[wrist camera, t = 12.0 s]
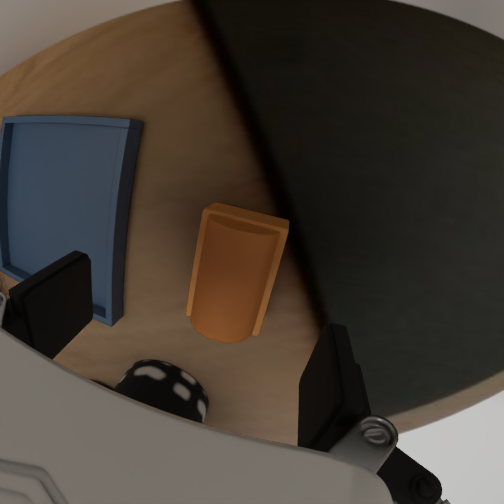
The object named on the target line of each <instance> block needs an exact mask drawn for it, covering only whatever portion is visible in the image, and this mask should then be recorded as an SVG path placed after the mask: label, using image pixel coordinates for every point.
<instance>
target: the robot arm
mask: <svg viewBox="0 0 504 504" xmlns="http://www.w3.org/2000/svg"><path fill="white" fill-rule="evenodd" d="M9 295H10V299H8V300H7V297H6V296H5V294H4V293H2V292H0V504H450V503H449V502H448V500H447V499H446V500H445V501H442V500H441V498H440V497H441V495H442V487H441V483H440V481H439V480H438V478H437V477H436V476H435V475H434V474H432V473H431V472H430V471H428V470H427V469H425V468H424V467H423V466H421V465H420V464H419V463H417V462H416V461H415V460H413V459H412V458H411V457H409V456H408V455H407V454H405V453H404V452H403V451H401V450H400V449H399V448H397V447H396V444H397V442H398V433H397V430H396V428H395V427H394V425H393V424H392V423H391V422H390V421H389V420H387V419H385V418H383V417H381V416H377V415H371V411H370V407H369V402H368V398H367V393H366V389H365V385H364V380H363V376H362V372H361V368H360V365H359V364H358V363H355V360H354V356H353V352H352V348H351V344H350V340H349V336H348V332H347V328H346V326H344V325H339V324H335V323H330V325H329V326H324V327H323V329H322V331H321V334H320V336H319V338H318V341H317V343H316V345H315V348H314V350H313V352H312V354H311V357H310V359H309V361H308V363H307V365H306V368H305V370H304V372H303V374H302V376H301V379H300V382H299V415H298V446H293V445H289V444H284V443H279V442H274V441H269V440H264V439H259V438H255V437H251V436H246V435H242V434H238V433H234V432H231V431H227V430H223V429H219V428H215V427H212V426H208V425H205V424H201V423H198V422H195V421H192V420H188V419H185V418H182V417H179V416H176V415H173V414H170V413H168V412H165V411H162V410H159V409H157V408H154V407H151V406H149V405H146V404H143V403H141V402H138V401H136V400H133V399H131V398H129V397H126V396H124V395H122V394H119V393H117V392H115V391H112V390H110V389H108V388H106V387H104V386H102V385H99V384H97V383H95V382H93V381H91V380H89V379H87V378H85V377H83V376H81V375H79V374H77V373H75V372H73V371H72V370H70V369H68V368H66V367H64V366H62V365H60V364H59V363H57V362H55V361H53V360H52V359H53V358H54V357H55V356H56V355H57V354H58V353H59V352H60V351H61V350H62V349H63V348H64V347H65V346H66V345H67V344H68V343H69V342H70V341H71V340H72V339H73V338H74V337H75V336H76V335H77V334H78V333H79V332H80V331H81V330H82V329H83V328H84V327H85V326H86V325H87V324H88V323H89V322H90V321H91V320H92V318H93V300H92V274H91V259H90V258H89V256H88V254H86V253H83V252H80V251H77V250H74V251H72V252H71V253H69V254H67V255H65V256H64V257H62V258H60V259H58V260H57V261H55V262H53V263H52V264H50V265H48V266H47V267H45V268H43V269H41V270H40V271H38V272H37V273H35V274H33V275H32V276H30V277H28V278H27V279H25V280H24V281H22V282H20V283H19V284H17V285H16V286H14V287H13V288H11V289H10V290H9Z"/></svg>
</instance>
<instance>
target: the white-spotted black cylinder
mask: <svg viewBox="0 0 504 504" xmlns="http://www.w3.org/2000/svg"><path fill="white" fill-rule="evenodd" d="M113 391H115V392H117V393H119V394H122V395H124V396H126V397H129V398H131V399H133V400H136V401H138V402H141V403H143V404H146V405H149V406H151V407H154V408H157V409H159V410H162V411H165V412H168V413H170V414H173V415H176V416H179V417H182V418H185V419H188V420H192V421H195V422H198V423H201V424H203V421H204V419H205V416H206V413H207V410H208V398H207V395H206V393H205V392H204V390H203V388H202V387H201V386H200V385H199V383H198V382H197V381H196V380H195V379H193V378H192V377H191V376H190V375H189V374H187V373H186V372H184V371H183V370H181V369H179V368H177V367H175V366H173V365H170V364H168V363H165V362H161V361H156V360H143V361H139V362H136V363H134V364H133V365H132V366H131V367H130V368H129V369H128V371H127V372H126V373H125V375H124V376H123V378H122V379H121V380H120V382H119V383H118V384H117V386H116V387H115V389H114V390H113Z"/></svg>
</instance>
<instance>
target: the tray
mask: <svg viewBox="0 0 504 504" xmlns="http://www.w3.org/2000/svg"><path fill="white" fill-rule="evenodd" d="M142 126H143V121H138V120H133V119H124V118H111V117H95V116H70V115H32V116H8V117H3V121H2V127H1V134H0V270H1V272H3V273H5V274H6V275H8V276H10V277H11V278H13V279H15V280H17V281H18V282H22V281H24V280H25V279H27V278H28V277H30V276H32V275H33V274H35V273H37V272H38V271H40V270H41V269H43V268H45V267H47V266H48V265H50V264H52V263H53V262H55V261H57V260H58V259H60V258H62V257H64V256H65V255H67V254H69V253H71V252H72V251H74V250H77V251H80V252H83V253H86V254H88V256H89V258H90V259H91V274H92V300H93V319H95V320H97V321H100V322H102V323H104V324H107V325H109V326H113V325H114V324H115V323H116V322H117V321H118V320H119V319H120V318H121V317H122V316H123V277H124V259H125V245H126V233H127V222H128V213H129V205H130V197H131V189H132V182H133V175H134V169H135V163H136V157H137V151H138V146H139V141H140V135H141V130H142Z"/></svg>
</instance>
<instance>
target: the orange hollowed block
mask: <svg viewBox="0 0 504 504" xmlns="http://www.w3.org/2000/svg"><path fill="white" fill-rule="evenodd" d="M288 231H289V220H285V219H282V218H278V217H274V216H270V215H266V214H262V213H258V212H254V211H251V210H247V209H243V208H239V207H234V206H230V205H226V204H222V203H218V202H214V203H212V204H211V205H209V206H207V207H205V208H204V209H203V213H202V218H201V223H200V229H199V234H198V240H197V245H196V251H195V257H194V263H193V269H192V275H191V282H190V288H189V295H188V301H187V308H186V316H189V317H191V323H192V325H193V327H194V328H195V329H196V330H197V331H198V332H199V333H200V334H202V335H203V336H205V337H207V338H209V339H212V340H215V341H220V342H228V343H230V342H239V341H243V340H245V339H247V338H248V337H249V336H250V335H251V334H252V335H256V336H258V335H259V332H260V329H261V326H262V322H263V319H264V316H265V312H266V309H267V306H268V302H269V299H270V295H271V292H272V288H273V285H274V281H275V278H276V274H277V271H278V267H279V264H280V260H281V257H282V253H283V250H284V246H285V242H286V239H287V235H288Z"/></svg>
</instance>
